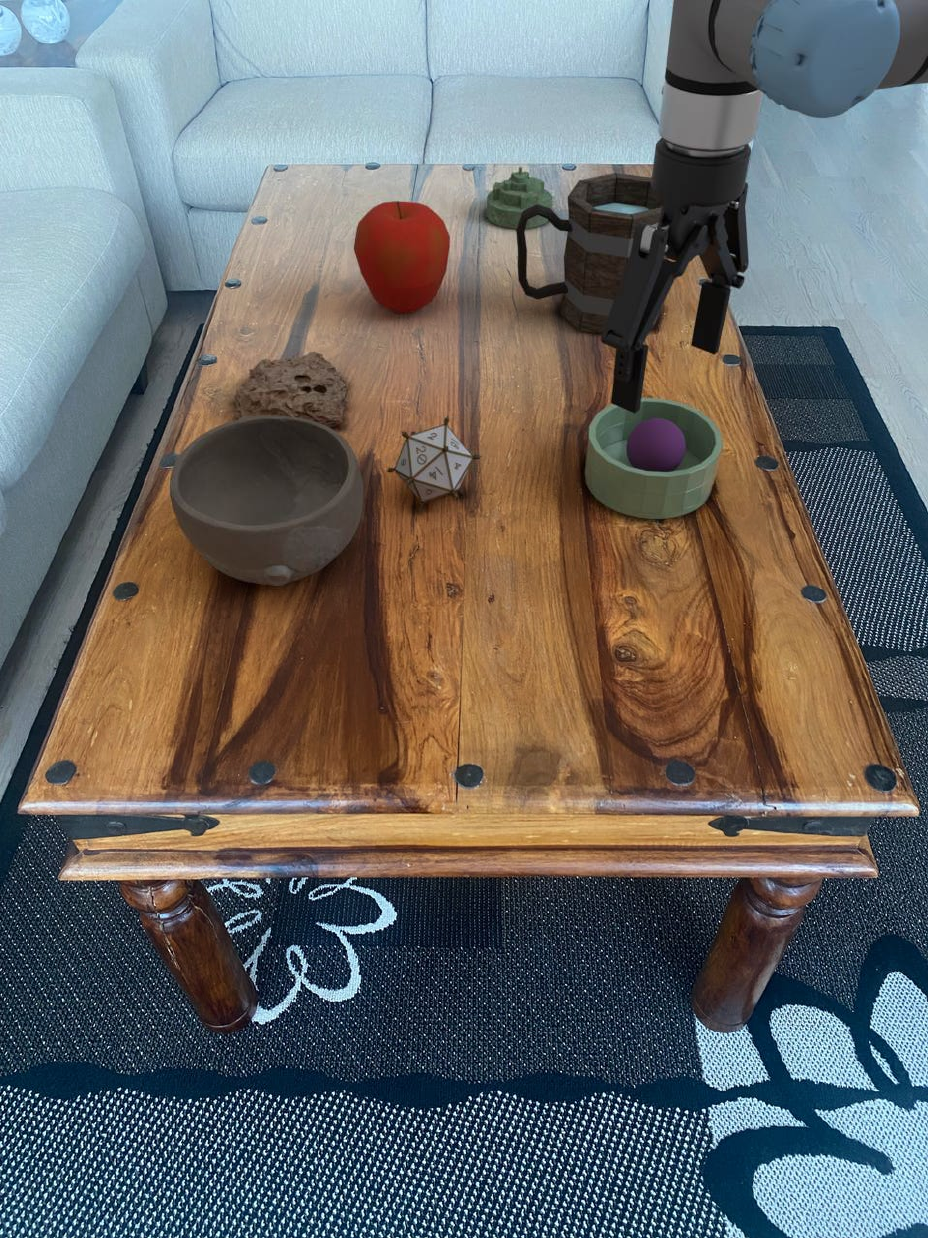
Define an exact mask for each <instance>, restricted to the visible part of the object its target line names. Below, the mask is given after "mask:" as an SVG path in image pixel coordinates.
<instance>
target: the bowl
mask: <svg viewBox="0 0 928 1238" xmlns="http://www.w3.org/2000/svg"><path fill="white" fill-rule="evenodd" d="M169 495H170V503H171V506H172V510H173V513H174V517H175V518H176V521H177V524H178V525H179V528H180V529H181V531H182V533H183V535H184V537H185V538H186V539H187V540H188V542H189V543H190V544H191V545H192V546H193V548H194V549H195V550H196V551H197V552H198V553H199V555H200V556H201V557H202V558H203V559H204V560H205V561H206V562H207V563H208V564H209V565H210V566H211V567H213V568H215V569H216V570H218V571H219V572H221V573H223V574H225V575H226V576H228V577H230V578H232V579H233V578H234V579H236V580H239V581H242V582H245V583H252V584H257V585H265V586H269V585H270V586H275V587H282V586H285V585H287V584H288V583H290V582H295V581H299V580H302V579H304V578H306V577H309V576H311V575H314V574H316V573H318V572H319V571H321V570H323V569H324V568H325V567H326V566H327V565H329V564H330V563H331V562H332V561H333V560H335V558H337V557H338V556H339V555H340V554H341V553H342V552H343V551H344V550H345V549H346V548H347V546H348V545H349V544H350V542H351V541H352V539H353V537H354V535H355V534H356V531H357V530H358V527H359V526H360V525H359V524H360V521H361V519H362V515H363V509H364V483H363V476H362V472H361V469H360V465H359V463H358V459H357V456H356V454H355V452H354V450H353V448H352V446H351V445H350V443H349V441H347V439H345V438H344V437H343V436H342V435H341V434H340V433H338V431H336V430H334V429H333V428H332V427H331V428H329V427H327V426H325V425H323V424H320V423H318V422H315V421H312V420H308V419H304V418H299V417H290V416H277V415H259V416H251V417H246V418H241V419H238V420H237V419H234V420H230V421H228V422H225V423H221V424H220V425H217V426H216V427H214V428H211V429H210V430H208V431H206V432H204V433H202V434H201V435H200V436H197V437H196V438H195V439H194V440H193V441H192V442H190V443H189V445H187V446H186V447H185V448H184V449H183V450H182V451H181V452H180V453H179V455H178V456H177V458H176V460H175V462H174V463H173V466H172V469H171V472H170V478H169Z"/></svg>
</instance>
